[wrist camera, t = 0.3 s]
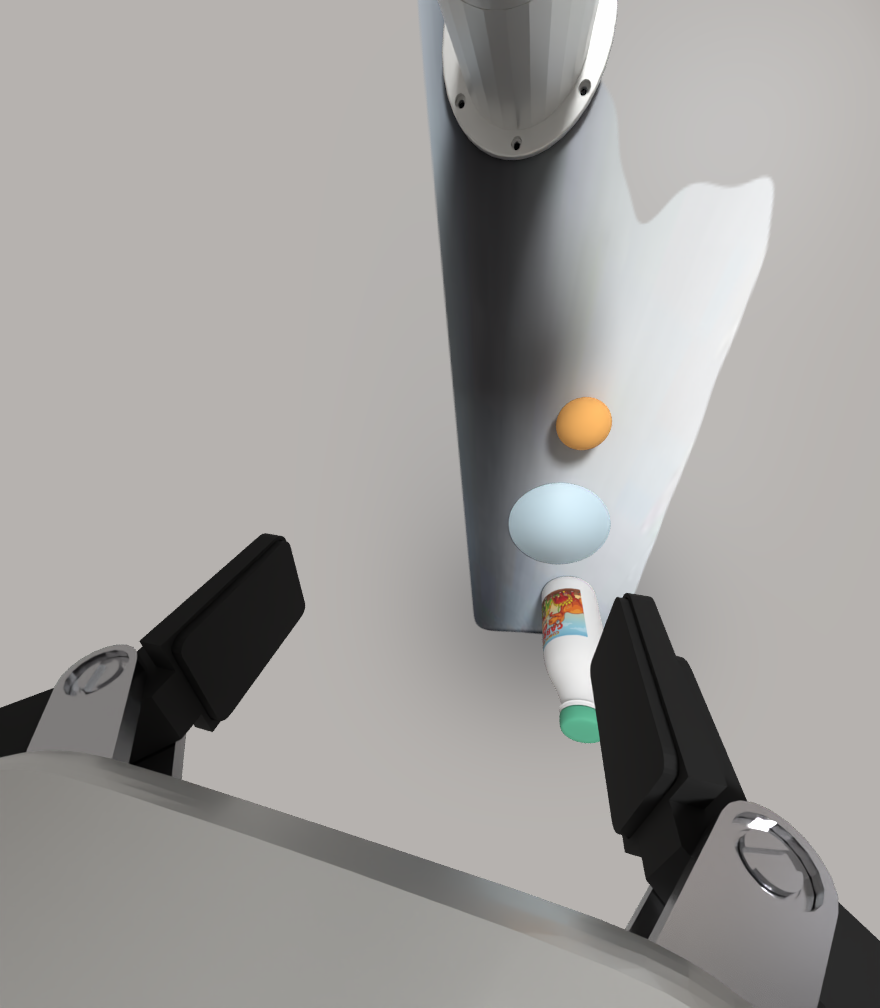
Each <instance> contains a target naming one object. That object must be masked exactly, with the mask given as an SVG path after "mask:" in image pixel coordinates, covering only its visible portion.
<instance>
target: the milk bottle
mask: <svg viewBox="0 0 880 1008" xmlns="http://www.w3.org/2000/svg"><path fill="white" fill-rule="evenodd" d="M602 632H603V626H602V621H601V616H600V611H599V607H598V602H597V597H596V594H595V591H594V589H593V588H592V587H591V585H590V584H588V583H587V582H586V581H584V580H582V579H580V578H577V577H572V576H564V577H558V578H555V579H553V580H551V581H550V582H548V583H547V584H546V586H545V587H544V589H543V591H542V633H543V651H544V661H545V666H546V670H547V673H548V675H549V677H550V679H551V681H552V683H553V685H554V687H555V689H556V691H557V693H558V696H559V698H560V702H561V706H560V707H559V712H560V727H561V730H562V732H563V733H564V734H565V735H566V736H567V737H569V738H570V739H572V740H575V741H577V742H582V743H595V742H599V741H600V738H599V731H598V724H597V718H596V711H595V704H594V698H593V691H592V684H591V677H590V665H591V661H592V658H593V656H594V653H595V650H596V648H597V645H598V642H599V640H600V637H601V635H602Z"/></svg>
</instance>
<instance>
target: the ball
mask: <svg viewBox="0 0 880 1008" xmlns="http://www.w3.org/2000/svg"><path fill="white" fill-rule="evenodd" d="M611 425H612V417H611V413H610V411H609V409H608V408H607V406H606V405H605V404H604V403H603V402H601V401H600V400H598V399H595V398H591V397H582V398H577V399H575V400H572V401H570V402H569V403H568V404H566V405H565V406H564V407H563V408H562V410H561V411H560V413H559V415H558V417H557V421H556V431H557V434H558V437H559V438H560V440H561V441H562V442H563V443H564V444H565V445H566V446H568V447H570V448H572V449H576V450H588V449H591V448H594V447H596V446H598V445H599V444H601V443H602V442H603V441H604V440H605V439H606V437H607V436H608V434H609V432H610V430H611Z"/></svg>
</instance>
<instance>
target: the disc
mask: <svg viewBox="0 0 880 1008" xmlns="http://www.w3.org/2000/svg"><path fill="white" fill-rule="evenodd" d="M609 531H610V515H609V512H608V510H607V508H606V506H605V504H604V503H603V501H602V500H601V499H600V498H599V497H598V496H597V495H596V494H594V493H593V492H592V491H590V490H588V489H586V488H584V487H581V486H578V485H575V484H569V483H551V484H546V485H542V486H539V487H536V488H534V489H532V490H530V491H529V492H527V493H526V494H524V495H523V496H522V497H521V498H520V499H519V500H518V501H517V502H516V504H515V505H514V507H513V508H512V510H511V513H510V517H509V532H510V535H511V538H512V540H513V541H514V543H515V545H516V546H517V547H518V548H519V549H520V550H521V551H522V552H523V553H525V554H526V555H527V556H529V557H531V558H533V559H535V560H538V561H541V562H544V563H550V564H568V563H573V562H577V561H580V560H583V559H585V558H587V557H589V556H590V555H592V554H593V553H595V552H596V551H597V550H598V549H599V548H600V547H601V546H602V545H603V544H604V542H605V541H606V539H607V537H608V534H609Z"/></svg>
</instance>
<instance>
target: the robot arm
mask: <svg viewBox="0 0 880 1008" xmlns="http://www.w3.org/2000/svg"><path fill="white" fill-rule="evenodd" d="M438 3H439V6H440V9H441V12H442V15H443V18H444V21H445V23H444V30H443V46H442V59H443V75H444V81H445V86H446V91H447V96H448V99H449V102H450V104H451V107H452V110H453V113H454V115H455V117H456V119H457V121H458V124H459V126H460V127H461V129H462V130H463V132H464V133H465V134H466V136H467V137H468V139H469V140H470V141H471V142H472V143H473V144H474V145H475V146H476V147H478V148H479V149H480V150H481V151H483V152H485V153H487V154H488V155H490V156H492V157H496V158H500V159H503V160H521V159H525V158H528V157H532V156H535V155H537V154H539V153H541V152H543V151H545V150H547V149H549V148H550V147H551V146H552V145H554V144H555V143H556V142H558V141H559V140H560V139H561V138H563V137H564V136H565V135H566V133H567V132H568V131H569V130H570V129H571V128H572V127H573V126H574V125H575V124H576V123H577V121H578V120H579V118H580V117H581V115H582V114H583V112H584V111H585V109H586V108H587V107H588V105H589V103H590V101H591V99H592V97H593V95H594V93H595V91H596V89H597V87H598V86H599V83H600V81H601V78H602V75H603V73H604V70H605V67H606V64H607V61H608V58H609V54H610V51H611V47H612V44H613V39H614V33H615V27H616V21H617V12H618V11H617V10H618V9H617V8H618V0H438ZM582 89H586V91H587V94H586V95H585V96H581V95H580V91H581V90H582ZM461 102H464V103H465V106H464V107H463V108H462V109H460V108H459V106H460V103H461ZM517 143H518V144H520V148H519V149H518V150H515V149H514V145H515V144H517ZM304 610H305V601H304V598H303V594H302V590H301V586H300V582H299V578H298V574H297V570H296V566H295V562H294V558H293V555H292V551H291V547H290V544H289V543H288V542H286V539H285V538H284V537H283V536H278V535H272V534H266V533H265V534H262V535H260V536H259V537H258V538H257V539H255V540H254V541H253V542H252V543H251V544H250V545H249V546H247V547H246V548H245V549H244V550H243V551H242V552H241V553H240V554H238V555H237V556H236V557H235V558H234V559H233V560H231V561H230V562H229V563H228V564H227V565H226V566H225V567H223V568H222V569H221V570H220V571H219V572H218V573H217V574H215V575H214V576H213V577H212V578H211V579H210V580H209V581H207V582H206V583H205V584H204V585H203V586H202V587H201V588H199V589H198V590H197V591H196V592H195V593H194V594H193V595H191V596H190V597H189V598H188V599H187V600H186V601H185V602H183V603H182V604H181V605H180V606H179V607H178V608H177V609H175V610H174V611H173V612H172V613H171V614H170V615H169V616H167V617H166V618H165V619H164V620H163V621H162V622H161V623H159V624H158V625H157V626H156V627H155V628H154V629H153V630H151V631H150V632H149V633H148V634H147V635H146V636H145V637H143V638H142V639H141V640H140V643H141V644H142V646H143V647H141V648H140V649H139V650H138V651H136V650H135V649H134V647H131V646H129V645H113V646H109V647H105V648H102V649H100V650H98V651H95V652H93V653H91V654H89V655H87V656H85V657H84V658H82V659H80V660H79V661H78V662H76V663H75V664H74V665H72V666H71V667H70V668H69V669H68V670H67V671H66V672H65V673H64V674H63V675H62V676H61V677H60V679H59V680H58V682H57V684H56V685H55V687H54V688H53V689H50V690H47V691H44V692H42V693H39V694H36V695H34V696H31V697H28V698H26V699H23V700H20V701H18V702H15V703H12V704H9V705H7V706H4V707H1V708H0V1008H880V941H879V940H878V939H877V938H876V937H875V936H874V935H873V934H872V933H871V932H870V931H869V930H868V929H866V928H865V927H864V926H863V925H862V924H861V923H860V922H859V921H858V920H857V919H856V918H855V917H854V916H853V915H852V914H850V913H849V912H848V911H847V910H846V909H845V908H844V907H843V906H842V905H841V904H840V903H839V902H838V895H837V892H836V889H835V886H834V883H833V880H832V877H831V876H830V874H829V872H828V870H827V868H826V867H825V865H824V863H823V861H822V860H821V858H820V856H819V855H818V854H817V853H816V851H815V850H814V849H813V848H812V846H811V845H810V844H809V843H808V841H807V840H806V839H805V838H804V837H803V836H802V835H801V834H800V833H799V832H798V831H797V830H796V829H795V828H794V827H792V826H791V825H790V824H789V823H788V822H787V821H786V820H784V819H782V818H781V817H780V816H778V815H777V814H776V813H774V812H773V811H771V810H769V809H767V808H765V807H763V806H760V805H758V804H756V803H753V802H747V800H746V797H745V795H744V793H743V790H742V788H741V786H740V783H739V781H738V778H737V776H736V774H735V771H734V769H733V767H732V764H731V762H730V760H729V757H728V755H727V752H726V750H725V748H724V745H723V743H722V741H721V738H720V736H719V733H718V731H717V729H716V727H715V724H714V722H713V719H712V717H711V715H710V712H709V710H708V707H707V705H706V703H705V700H704V698H703V696H702V693H701V691H700V689H699V686H698V684H697V681H696V679H695V677H694V674H693V672H692V669H691V668H690V666H689V664H688V662H687V661H686V660H685V659H684V658H682V657H679V656H676V655H675V653H674V650H673V648H672V645H671V643H670V640H669V637H668V635H667V632H666V630H665V627H664V625H663V622H662V620H661V617H660V615H659V612H658V609H657V607H656V604H655V602H654V600H653V598H651V597H649V596H643V595H636V594H630V593H625V594H624V596H623V598H620V597H617V598H616V599H615V601H614V603H613V606H612V609H611V611H610V614H609V616H608V619H607V622H606V624H605V627H604V629H603V632H602V635H601V637H600V640H599V642H598V645H597V648H596V650H595V653H594V656H593V658H592V661H591V665H590V677H591V684H592V691H593V698H594V704H595V711H596V718H597V724H598V731H599V738H600V745H601V751H602V758H603V765H604V771H605V778H606V785H607V791H608V798H609V805H610V812H611V818H612V824H613V827H614V830H615V832H616V833H618V834H621V835H622V837H623V843H624V849H625V852H626V853H629V854H632V855H635V856H639V857H642V861H643V867H644V872H645V877H646V880H647V882H648V883H649V884H650V886H649V887H648V889H647V891H646V893H645V895H644V896H643V898H642V900H641V902H640V903H639V905H638V907H637V909H636V911H635V912H634V914H633V916H632V918H631V920H630V921H629V923H628V925H627V927H626V928H625V930H624V929H622V928H619V927H617V926H615V925H612V924H609V923H607V922H605V921H603V920H600V919H597V918H595V917H592V916H589V915H586V914H583V913H580V912H578V911H575V910H572V909H569V908H566V907H563V906H561V905H558V904H555V903H552V902H549V901H546V900H544V899H541V898H538V897H535V896H533V895H530V894H527V893H524V892H521V891H518V890H516V889H513V888H510V887H507V886H504V885H501V884H498V883H495V882H492V881H489V880H486V879H483V878H480V877H477V876H474V875H471V874H468V873H465V872H462V871H459V870H456V869H453V868H450V867H447V866H444V865H441V864H438V863H435V862H432V861H429V860H426V859H423V858H420V857H417V856H414V855H411V854H408V853H405V852H402V851H399V850H396V849H393V848H390V847H387V846H384V845H381V844H378V843H374V842H372V841H368V840H365V839H362V838H359V837H356V836H353V835H350V834H347V833H344V832H341V831H338V830H335V829H332V828H329V827H326V826H323V825H320V824H317V823H314V822H310V821H307V820H304V819H301V818H298V817H295V816H292V815H289V814H286V813H283V812H280V811H277V810H273V809H271V808H268V807H264V806H261V805H258V804H255V803H252V802H249V801H246V800H243V799H240V798H236V797H233V796H230V795H227V794H224V793H221V792H218V791H215V790H212V789H209V788H205V787H202V786H199V785H196V784H193V783H189V782H187V781H184V780H182V769H183V759H184V749H185V739H186V733H187V731H188V730H189V729H190V728H191V727H192V725H193V724H194V726H195V727H197V728H201V729H204V730H207V731H211V732H213V731H214V729H215V728H216V727H217V725H218V724H219V723H220V721H223V720H225V719H226V718H228V717H229V715H230V714H231V713H232V712H233V710H234V709H235V707H236V706H237V705H238V703H239V702H240V701H241V699H242V698H243V696H244V695H245V693H246V692H247V691H248V690H249V688H250V687H251V685H252V684H253V683H254V681H255V680H256V679H257V677H258V676H259V674H260V673H261V672H262V670H263V669H264V667H265V666H266V665H267V663H268V662H269V661H270V659H271V658H272V656H273V655H274V654H275V652H276V651H277V649H278V648H279V647H280V645H281V644H282V643H283V641H284V640H285V638H286V637H287V636H288V634H289V633H290V632H291V630H292V629H293V627H294V626H295V625H296V623H297V622H298V620H299V619H300V618H301V616H302V615H303V613H304Z"/></svg>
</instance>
